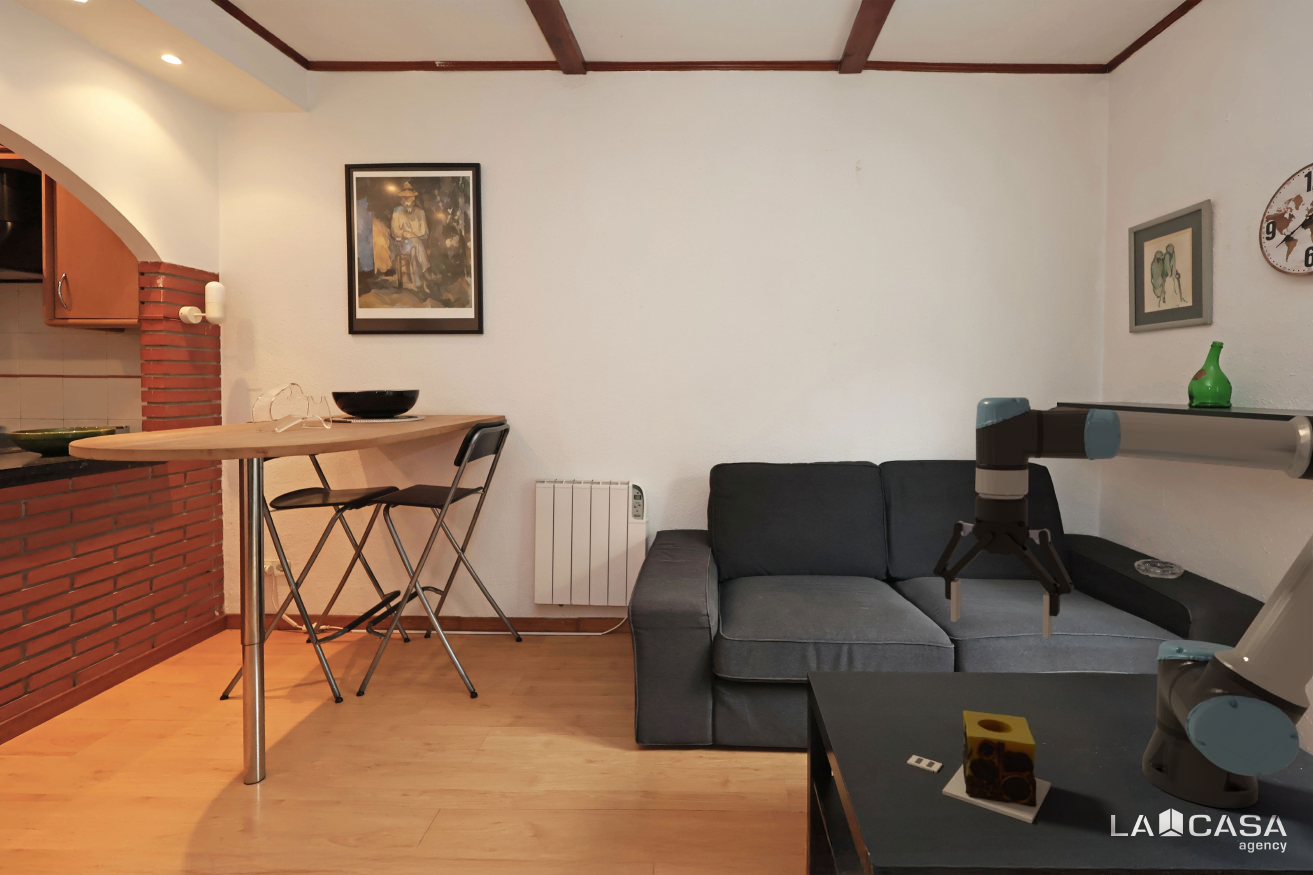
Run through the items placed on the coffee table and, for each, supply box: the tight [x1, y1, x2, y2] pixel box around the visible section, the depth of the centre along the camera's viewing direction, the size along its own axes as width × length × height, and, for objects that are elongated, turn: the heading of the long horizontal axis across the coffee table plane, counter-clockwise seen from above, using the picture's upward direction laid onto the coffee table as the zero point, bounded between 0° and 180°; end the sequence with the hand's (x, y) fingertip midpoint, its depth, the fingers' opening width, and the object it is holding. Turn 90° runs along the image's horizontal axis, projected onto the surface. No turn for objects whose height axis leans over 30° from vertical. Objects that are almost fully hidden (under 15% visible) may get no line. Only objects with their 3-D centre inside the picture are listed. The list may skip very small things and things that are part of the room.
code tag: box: [906, 754, 943, 773], centre depth 126 cm, size 5×3×1 cm, turn 51°
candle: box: [962, 710, 1037, 806], centre depth 118 cm, size 10×10×10 cm
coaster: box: [942, 764, 1052, 824], centre depth 118 cm, size 13×13×1 cm
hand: (999, 627), depth 117 cm, fingers open, 13 cm apart
